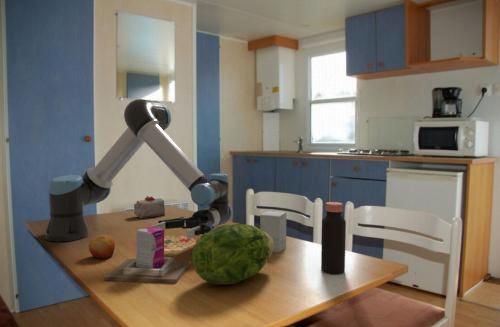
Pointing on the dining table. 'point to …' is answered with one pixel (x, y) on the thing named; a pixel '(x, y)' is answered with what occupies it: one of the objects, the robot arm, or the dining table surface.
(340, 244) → the bottle
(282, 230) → the supplement box
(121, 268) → the socket board
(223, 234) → the lettuce
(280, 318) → the dining table surface
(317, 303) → the dining table surface
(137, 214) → the food item
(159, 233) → the supplement box
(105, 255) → the fruit
